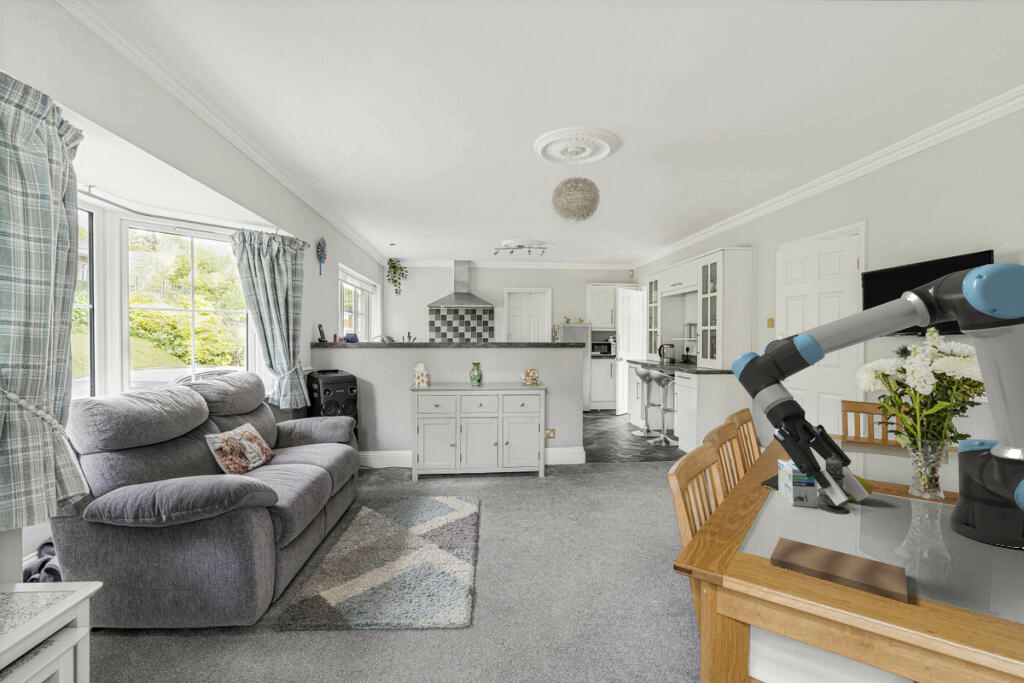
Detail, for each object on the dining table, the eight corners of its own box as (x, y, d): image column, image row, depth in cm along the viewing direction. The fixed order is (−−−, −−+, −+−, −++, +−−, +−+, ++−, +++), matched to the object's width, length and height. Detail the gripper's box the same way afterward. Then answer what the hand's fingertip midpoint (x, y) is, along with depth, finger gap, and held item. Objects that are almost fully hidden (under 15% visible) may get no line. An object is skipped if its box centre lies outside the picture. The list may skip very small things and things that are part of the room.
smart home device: (760, 482, 142) (784, 469, 154) (760, 487, 142) (784, 474, 154) (788, 489, 135) (811, 475, 147) (788, 494, 135) (811, 480, 147)
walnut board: (905, 575, 89) (904, 567, 89) (907, 603, 80) (907, 595, 80) (780, 543, 103) (780, 537, 103) (770, 564, 94) (770, 557, 94)
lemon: (822, 497, 131) (822, 471, 131) (833, 492, 135) (833, 466, 135) (866, 509, 122) (866, 480, 122) (877, 502, 126) (876, 475, 126)
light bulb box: (818, 507, 123) (818, 470, 123) (792, 506, 125) (791, 469, 125) (801, 494, 134) (800, 459, 134) (777, 493, 135) (776, 458, 135)
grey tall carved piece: (818, 501, 96) (818, 448, 96) (852, 508, 92) (852, 452, 92) (815, 510, 92) (815, 454, 91) (851, 517, 88) (851, 458, 88)
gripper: (797, 414, 109) (869, 502, 94) (740, 419, 103) (807, 514, 88) (818, 395, 104) (898, 486, 89) (760, 400, 98) (834, 498, 83)
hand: (852, 500), depth 88 cm, fingers closed on grey tall carved piece, 5 cm apart
